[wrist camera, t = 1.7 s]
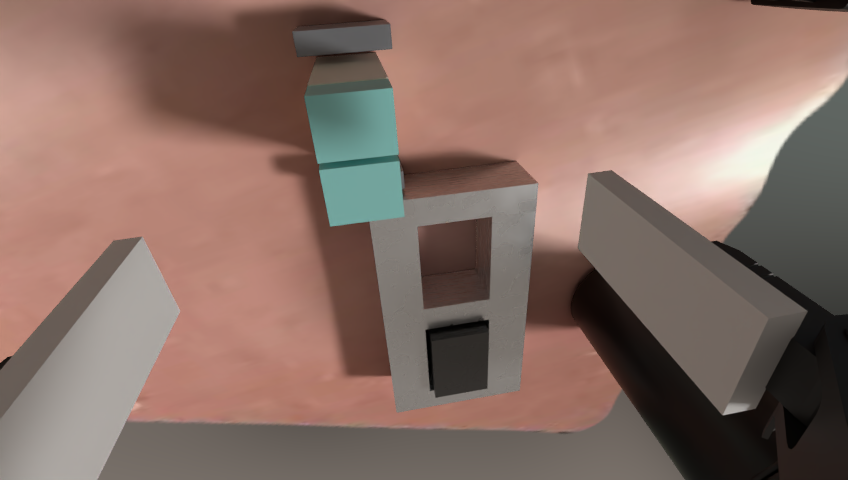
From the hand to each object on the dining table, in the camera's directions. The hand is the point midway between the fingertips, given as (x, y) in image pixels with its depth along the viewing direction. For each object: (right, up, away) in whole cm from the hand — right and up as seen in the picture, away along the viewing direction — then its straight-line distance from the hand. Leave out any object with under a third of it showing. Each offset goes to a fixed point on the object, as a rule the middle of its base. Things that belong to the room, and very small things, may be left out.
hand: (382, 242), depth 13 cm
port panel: (+3, -4, +22) cm, 23 cm away
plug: (-3, +8, +14) cm, 17 cm away
